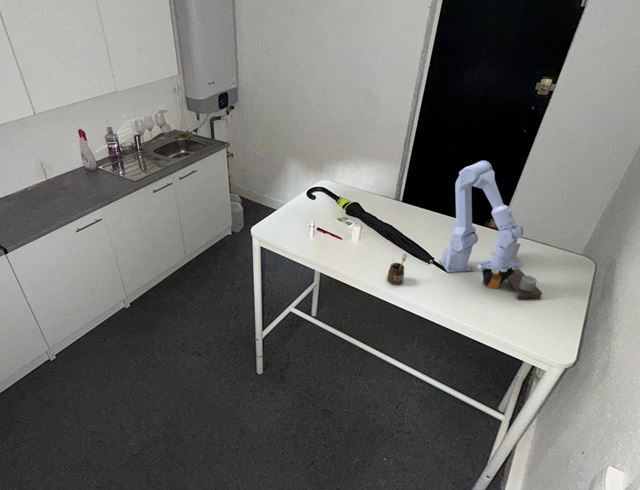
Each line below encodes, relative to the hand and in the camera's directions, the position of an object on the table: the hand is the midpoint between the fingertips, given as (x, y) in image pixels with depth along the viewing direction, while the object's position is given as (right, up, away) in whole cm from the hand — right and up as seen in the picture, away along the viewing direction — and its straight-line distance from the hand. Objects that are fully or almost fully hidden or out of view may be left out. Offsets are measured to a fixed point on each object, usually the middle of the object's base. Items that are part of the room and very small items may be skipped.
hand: (492, 283), depth 157 cm
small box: (+12, +9, +14) cm, 21 cm away
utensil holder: (-36, +1, +5) cm, 37 cm away
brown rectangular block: (+9, -1, -1) cm, 9 cm away
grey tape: (+9, -1, -6) cm, 11 cm away
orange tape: (0, 0, 0) cm, 1 cm away
